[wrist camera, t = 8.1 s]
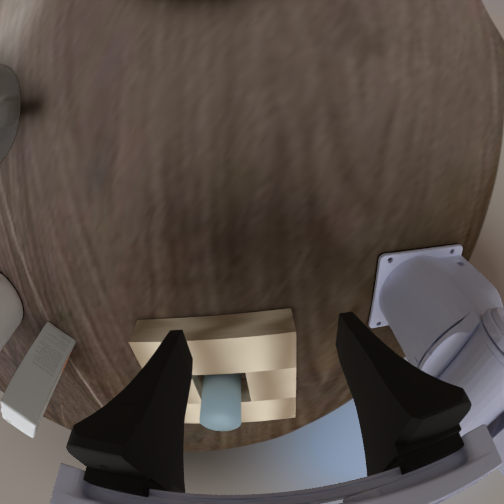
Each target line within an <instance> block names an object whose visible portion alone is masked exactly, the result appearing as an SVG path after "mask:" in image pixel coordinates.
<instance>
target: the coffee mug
mask: <svg viewBox="0 0 504 504" xmlns="http://www.w3.org/2000/svg"><path fill="white" fill-rule="evenodd" d="M20 105H21V100H20V89H19V84H18V81H17V78H16V76H15V74H14V73H13V71H12V70H11V69H10V68H9V67H8V66H6V65H2V64H0V162H1V161H2V160H3V159H4V158H5V156H6V155H7V153H8V152H9V150H10V148H11V146H12V144H13V141H14V139H15V136H16V132H17V128H18V124H19V118H20Z"/></svg>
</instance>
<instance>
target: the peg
mask: <svg viewBox="0 0 504 504" xmlns="http://www.w3.org/2000/svg"><path fill="white" fill-rule="evenodd" d="M199 421H200V423H201V424H202V425H203V426H204V427H206V428H208V429H211V430H216V431H229V430H234V429H236V428H238V427H239V426H240V425H241V373H232V374H214V375H204V380H203V389H202V399H201V409H200V419H199Z"/></svg>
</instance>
